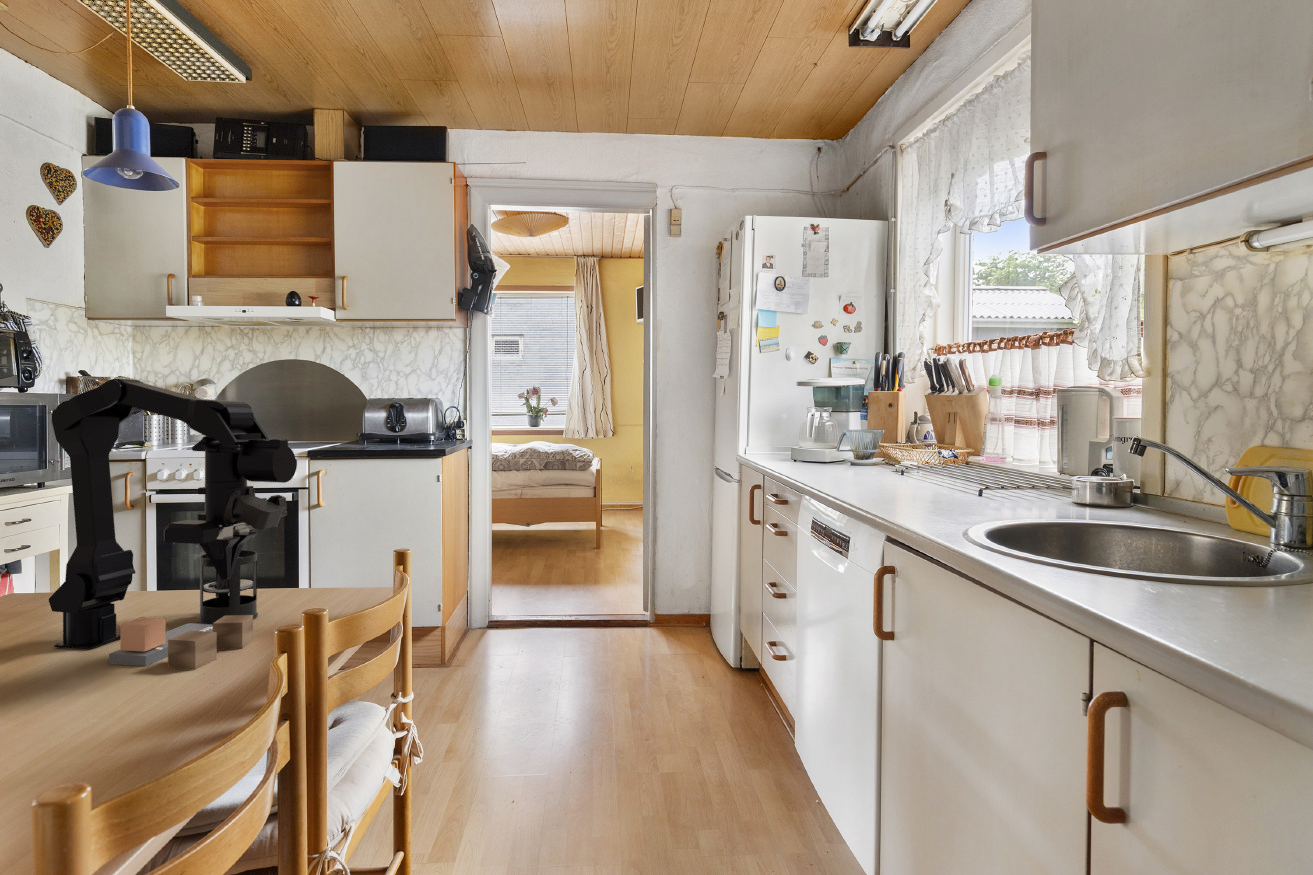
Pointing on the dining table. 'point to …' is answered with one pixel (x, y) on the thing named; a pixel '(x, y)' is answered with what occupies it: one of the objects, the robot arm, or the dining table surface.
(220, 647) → the walnut block far
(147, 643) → the salmon pink cube
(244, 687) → the dining table surface
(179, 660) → the walnut block near
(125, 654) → the base
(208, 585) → the french press
